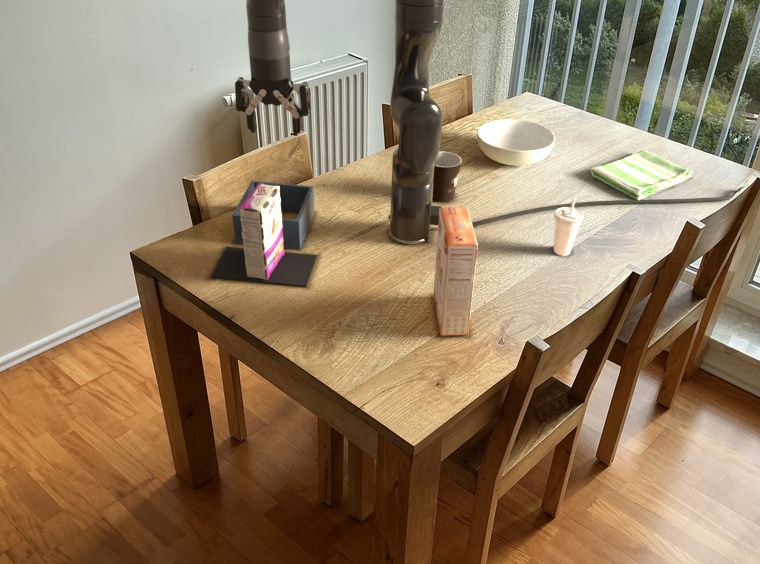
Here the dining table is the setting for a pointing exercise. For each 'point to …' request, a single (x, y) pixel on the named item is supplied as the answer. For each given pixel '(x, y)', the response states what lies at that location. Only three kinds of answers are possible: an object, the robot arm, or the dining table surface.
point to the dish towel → (641, 174)
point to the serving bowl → (515, 141)
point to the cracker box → (454, 270)
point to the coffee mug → (446, 176)
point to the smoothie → (566, 228)
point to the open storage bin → (291, 201)
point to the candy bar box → (262, 231)
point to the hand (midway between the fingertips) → (275, 132)
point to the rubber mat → (287, 272)
